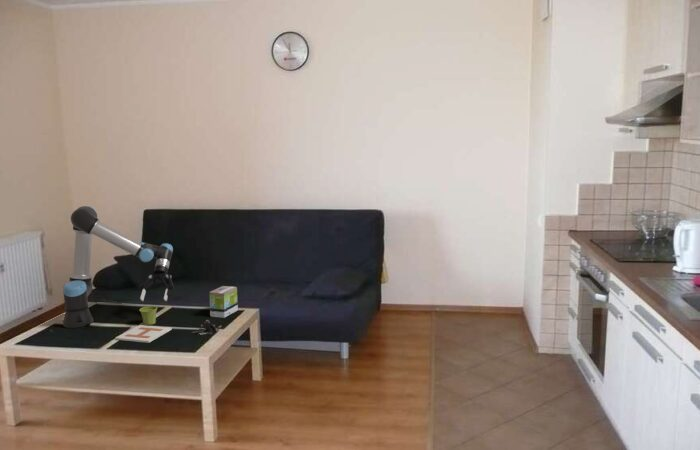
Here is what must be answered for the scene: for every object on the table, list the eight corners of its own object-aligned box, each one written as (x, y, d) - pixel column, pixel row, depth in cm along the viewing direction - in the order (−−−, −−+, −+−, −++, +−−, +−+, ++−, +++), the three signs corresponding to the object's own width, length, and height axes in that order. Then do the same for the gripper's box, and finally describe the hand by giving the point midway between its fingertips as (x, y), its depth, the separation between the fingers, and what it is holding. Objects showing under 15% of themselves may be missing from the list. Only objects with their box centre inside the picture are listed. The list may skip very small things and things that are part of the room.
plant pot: (152, 326, 310) (151, 311, 309) (137, 326, 312) (136, 310, 311) (161, 321, 319) (160, 306, 318) (146, 320, 321) (145, 305, 320)
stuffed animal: (226, 327, 304) (210, 319, 295) (218, 344, 301) (203, 337, 292) (211, 322, 311) (196, 315, 302) (204, 339, 308) (188, 333, 299)
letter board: (115, 339, 292) (115, 337, 292) (139, 326, 311) (139, 325, 310) (148, 342, 286) (148, 340, 286) (171, 329, 305) (171, 327, 305)
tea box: (225, 318, 322) (223, 293, 320) (209, 316, 325) (208, 291, 323) (238, 310, 336) (237, 286, 334) (223, 309, 339) (222, 285, 337)
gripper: (138, 264, 331) (129, 296, 318) (180, 264, 329) (172, 296, 317) (143, 271, 337) (134, 303, 324) (184, 271, 335) (176, 303, 323)
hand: (153, 300), depth 321 cm, fingers open, 13 cm apart
